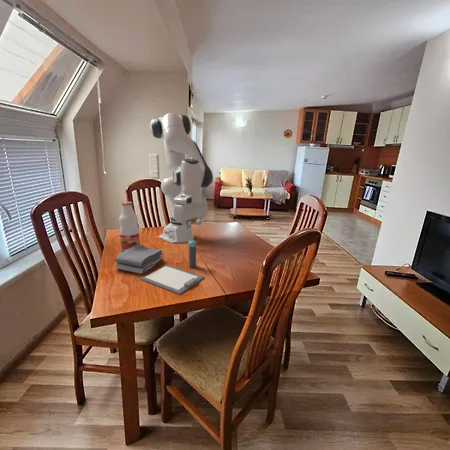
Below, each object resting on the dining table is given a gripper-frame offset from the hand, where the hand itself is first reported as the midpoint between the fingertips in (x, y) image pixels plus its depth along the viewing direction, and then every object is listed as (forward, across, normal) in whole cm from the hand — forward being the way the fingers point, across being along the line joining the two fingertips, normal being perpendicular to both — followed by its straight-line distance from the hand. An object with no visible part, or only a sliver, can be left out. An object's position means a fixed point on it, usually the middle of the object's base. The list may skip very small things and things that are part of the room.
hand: (192, 227), depth 113 cm
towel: (+20, +12, -23) cm, 32 cm away
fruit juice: (+20, +6, -36) cm, 42 cm away
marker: (+20, 0, 0) cm, 20 cm away
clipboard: (+20, +14, 0) cm, 24 cm away
